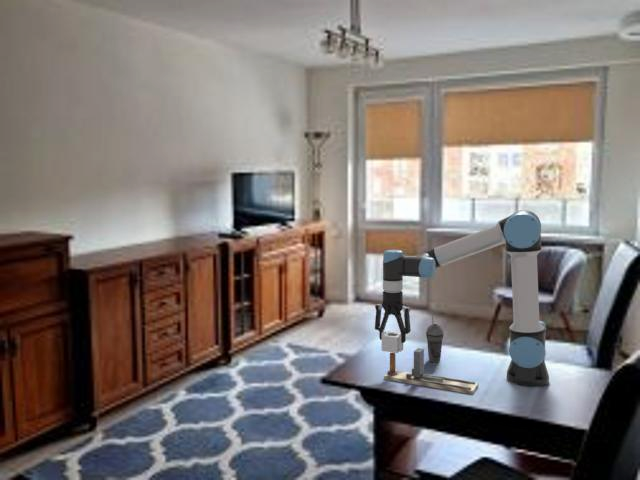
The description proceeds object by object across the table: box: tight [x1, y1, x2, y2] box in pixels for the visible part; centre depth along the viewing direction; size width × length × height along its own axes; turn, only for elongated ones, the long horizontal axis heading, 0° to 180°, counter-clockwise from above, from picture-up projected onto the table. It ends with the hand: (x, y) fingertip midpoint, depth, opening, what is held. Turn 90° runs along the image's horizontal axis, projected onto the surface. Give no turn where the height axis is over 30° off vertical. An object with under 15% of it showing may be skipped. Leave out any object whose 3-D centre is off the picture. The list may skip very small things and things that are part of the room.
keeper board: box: [383, 352, 479, 395], centre depth 216 cm, size 34×8×9 cm, turn 62°
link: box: [381, 331, 401, 354], centre depth 222 cm, size 6×6×6 cm
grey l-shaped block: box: [413, 347, 443, 381], centre depth 216 cm, size 11×5×10 cm, turn 62°
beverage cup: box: [425, 313, 445, 364], centre depth 240 cm, size 7×7×20 cm
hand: (392, 349), depth 222 cm, fingers closed on link, 6 cm apart
